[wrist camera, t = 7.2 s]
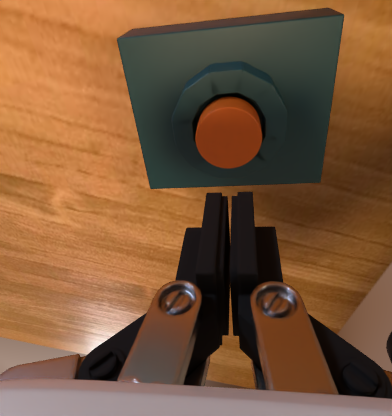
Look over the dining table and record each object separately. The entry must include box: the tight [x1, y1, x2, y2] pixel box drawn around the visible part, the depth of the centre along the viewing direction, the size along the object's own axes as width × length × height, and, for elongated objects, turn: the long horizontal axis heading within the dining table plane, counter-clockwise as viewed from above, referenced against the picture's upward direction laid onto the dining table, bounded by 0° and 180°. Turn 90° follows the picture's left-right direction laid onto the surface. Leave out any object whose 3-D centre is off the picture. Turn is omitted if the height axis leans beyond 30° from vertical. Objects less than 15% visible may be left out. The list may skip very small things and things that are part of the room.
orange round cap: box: [195, 97, 262, 168], centre depth 18 cm, size 4×4×2 cm
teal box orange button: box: [117, 8, 344, 189], centre depth 20 cm, size 12×10×5 cm
